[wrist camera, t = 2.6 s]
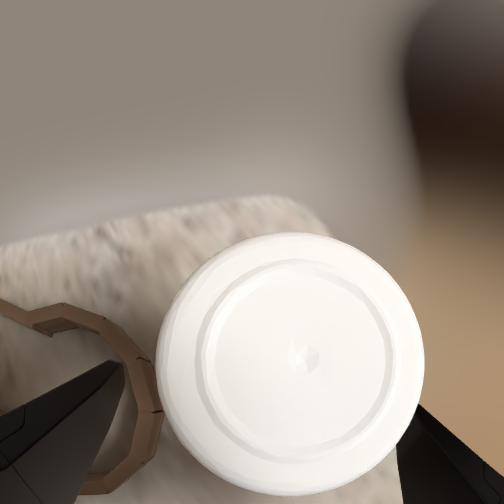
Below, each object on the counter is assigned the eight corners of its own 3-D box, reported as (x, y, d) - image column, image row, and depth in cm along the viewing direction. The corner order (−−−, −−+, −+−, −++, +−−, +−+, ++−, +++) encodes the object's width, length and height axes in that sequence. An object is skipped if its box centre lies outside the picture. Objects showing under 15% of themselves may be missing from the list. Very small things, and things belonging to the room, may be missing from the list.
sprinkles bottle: (210, 426, 15) (157, 510, 3) (206, 346, 17) (152, 225, 5) (294, 420, 16) (444, 463, 4) (287, 342, 18) (404, 220, 6)
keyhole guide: (143, 510, 13) (132, 524, 10) (-34, 412, 13) (-55, 409, 11) (181, 345, 17) (174, 337, 15) (0, 281, 18) (-19, 268, 15)
